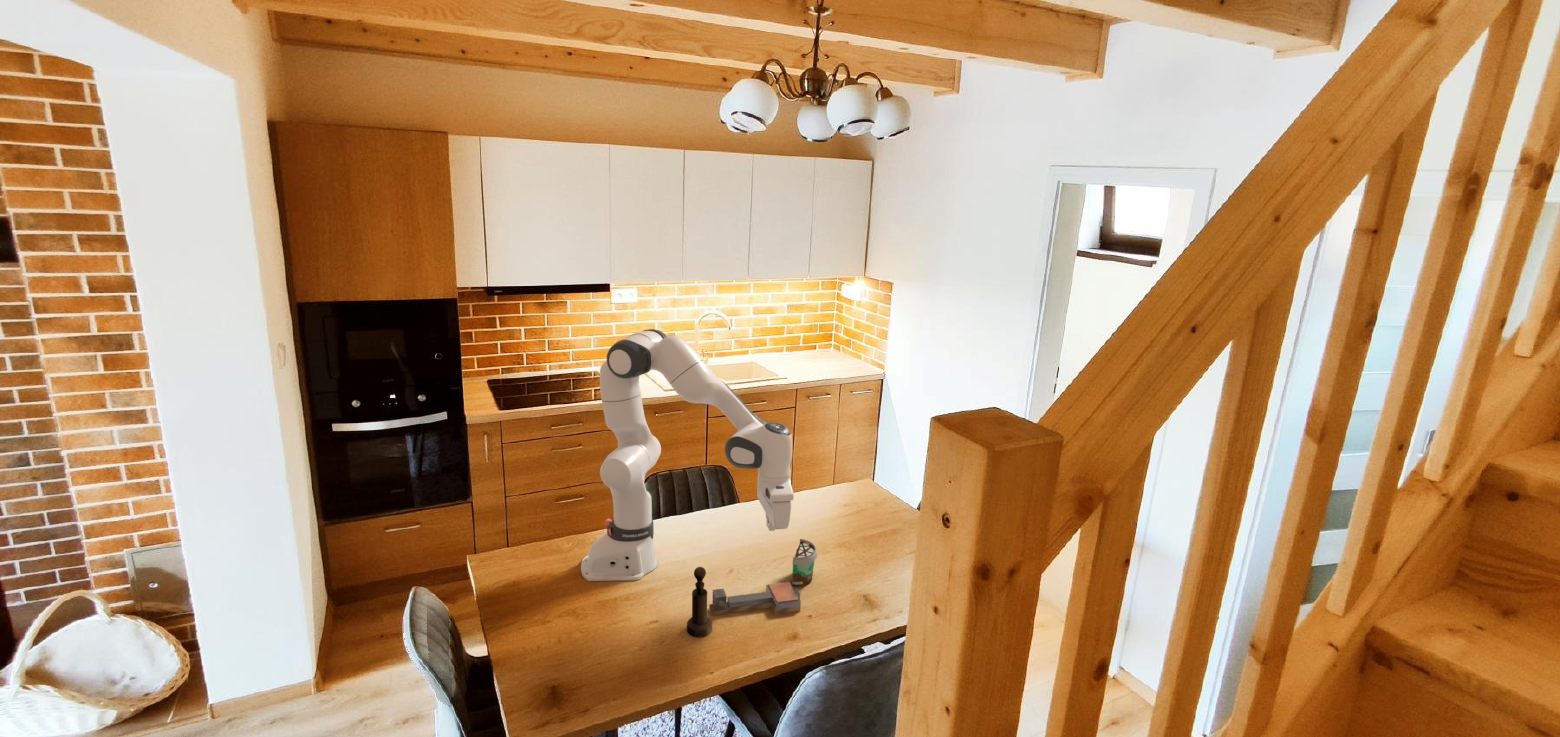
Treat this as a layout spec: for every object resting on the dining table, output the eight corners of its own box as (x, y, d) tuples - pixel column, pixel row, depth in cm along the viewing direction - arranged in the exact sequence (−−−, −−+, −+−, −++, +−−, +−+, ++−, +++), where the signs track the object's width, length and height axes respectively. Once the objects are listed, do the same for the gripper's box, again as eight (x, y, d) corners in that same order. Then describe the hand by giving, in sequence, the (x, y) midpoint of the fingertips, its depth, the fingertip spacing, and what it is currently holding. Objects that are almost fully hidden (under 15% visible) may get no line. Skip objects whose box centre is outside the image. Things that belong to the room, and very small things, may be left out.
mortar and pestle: (699, 619, 196) (700, 558, 191) (717, 629, 192) (718, 567, 187) (681, 630, 191) (681, 568, 186) (699, 641, 187) (699, 577, 182)
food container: (812, 592, 210) (814, 560, 208) (791, 589, 212) (792, 557, 209) (819, 570, 222) (820, 540, 220) (799, 567, 223) (800, 537, 221)
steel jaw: (732, 615, 195) (732, 608, 195) (724, 594, 205) (724, 588, 204) (803, 605, 201) (804, 599, 201) (793, 586, 210) (793, 580, 210)
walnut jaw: (713, 623, 194) (714, 604, 193) (706, 602, 204) (706, 584, 202) (803, 610, 201) (804, 592, 200) (792, 591, 211) (793, 573, 209)
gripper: (753, 467, 207) (750, 512, 211) (772, 499, 189) (769, 547, 192) (774, 466, 209) (771, 510, 213) (795, 497, 190) (792, 545, 194)
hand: (770, 528), depth 202 cm, fingers closed
